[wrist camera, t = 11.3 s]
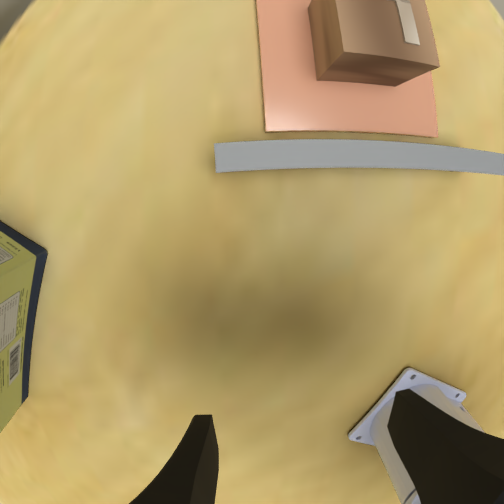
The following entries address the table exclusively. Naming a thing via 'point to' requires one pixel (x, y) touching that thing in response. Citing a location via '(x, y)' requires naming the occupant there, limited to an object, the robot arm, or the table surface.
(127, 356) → the table surface
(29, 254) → the protein box
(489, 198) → the table surface
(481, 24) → the table surface
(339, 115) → the terracotta tile
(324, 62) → the walnut cube
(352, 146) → the slate screen
